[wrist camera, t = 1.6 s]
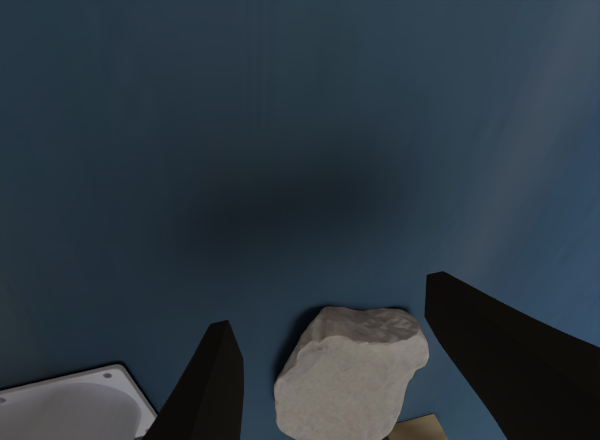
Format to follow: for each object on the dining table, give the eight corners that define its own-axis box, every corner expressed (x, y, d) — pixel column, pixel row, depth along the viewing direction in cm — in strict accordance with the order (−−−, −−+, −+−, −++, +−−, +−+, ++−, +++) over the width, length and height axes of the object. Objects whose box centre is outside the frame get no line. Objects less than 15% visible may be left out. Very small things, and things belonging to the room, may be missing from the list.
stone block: (271, 384, 26) (375, 404, 26) (262, 441, 21) (387, 465, 22) (295, 279, 22) (419, 303, 22) (289, 322, 17) (446, 353, 17)
